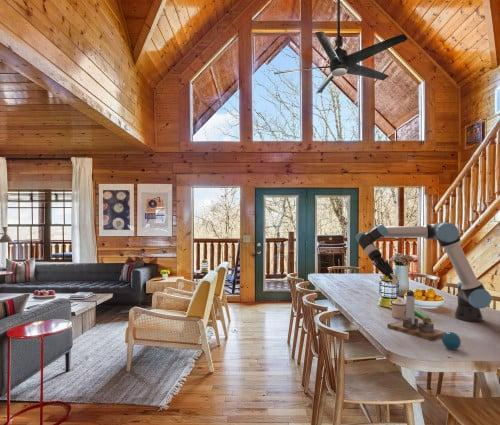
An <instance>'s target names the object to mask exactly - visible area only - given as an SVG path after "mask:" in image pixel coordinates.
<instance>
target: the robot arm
mask: <svg viewBox="0 0 500 425" xmlns="http://www.w3.org/2000/svg"><path fill="white" fill-rule="evenodd" d="M384 238H386V239H387V238H388V239H389V238H391V239H392V238H394V239H395V238H397V239H398V238H403V239H404V238H407V239H409V238H423V239H425V240H433V241H434V240H435V241H437V243H438V244H439V246H440V248H442V249H444V250H445V252H446V254H447V257H448V258H449V260H450V262H451V265H452V267H453V269H454V270H455V271H454V272H455V273H456V275H457V277H458V279H459V282H457V286H456V288H457V289H456V290H457V306H456V309H455V311H454V318H456V319H458V320H462V321H464V322H465V321H466V322H472V323H473V322H477V323H478V322H483V321H484V320H483V318H484V317H483V314H482V311H481V309H485V308H487V307H489V306H490V304H491V303H492V294H491V293H490V291H488V290H486V288H485V286H484V284H483V282H482V281H480V280H478V278H477V276H476V275H475V273H474V270H473V268H472V266H471V264H470V262H469V260H468V258H467V256H466V254H465V252H464V249H463V248H462V246H461V244H460V243H461V240H462V239H461V238H460V232H459V228H458V227H457V226H456V225H455V224H454V223H452V222H447V221H446V222H436V223H429V224H427V223H426V224H424V225H411V226H410V225H408V226H407V225H405V226H404V225H403V226H401V225H399V226H397V225H395V226H393V225H392V226H386V225H384V224H383V223H380V224H378V225H376V226H372V227H371V228H369V230H368V231H367V232H365V231H361V232H358V233H357V234H356V235H355V241H356V242H357V243H358V246H360V247H361V249H362V250H363V251H364V252H365V254H366V255H367V257H368V258H369V259H370V261H372V263H371V264H372V265H373V266H374V267H376V268H377V270H378V271H380V272H381V274H382V275H383V276H385V278H386V277H387V278H388V279H389V280H390V282H392V284H393V285H394V286H396V285H398V284H399V283H400V282H399V281H398V279H397V278H396V276H395V275H394V274H393V273H394V270H393V268H392V267H391V265H390V262H389V260H388V259H386V260H385V259H384V258H383V257H382V255H383V254H382V252H381V251H380V250H379V249H378V247H377V246H376V245H375V242H376V241H378V240H380V239H384Z"/></svg>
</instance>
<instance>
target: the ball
mask: <svg viewBox="0 0 500 425" xmlns="http://www.w3.org/2000/svg"><path fill="white" fill-rule="evenodd" d="M445 332H446V331H445ZM441 342H442V344H443V345H444V347H446V348H447V349H449V350H457V349H459V348H460V346H461V343H462V339H461V337H460V336H459V335H458V334H457V333H455V332H453V331H447V332H446V333H445V334H444V335H443V336H442V337H441Z"/></svg>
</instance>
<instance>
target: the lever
mask: <svg viewBox="0 0 500 425" xmlns="http://www.w3.org/2000/svg"><path fill="white" fill-rule="evenodd" d="M405 297H406V298H405V299H406V302H405V303H406V319H410V320H412V325H413V324H415V318H416V317H415V316H416V315H415V312H414V309H415V292H414V291H413V290H411V289H410V290H409V289H408V290H407V291H406V296H405Z"/></svg>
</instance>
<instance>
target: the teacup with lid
mask: <svg viewBox="0 0 500 425" xmlns="http://www.w3.org/2000/svg"><path fill="white" fill-rule="evenodd" d="M391 316H392V318H395V319H402V320H403V319H404V318H406V319H407V317H406V302H405V301H403V300H401V298H397V299H396V300H394V301H391Z"/></svg>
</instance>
